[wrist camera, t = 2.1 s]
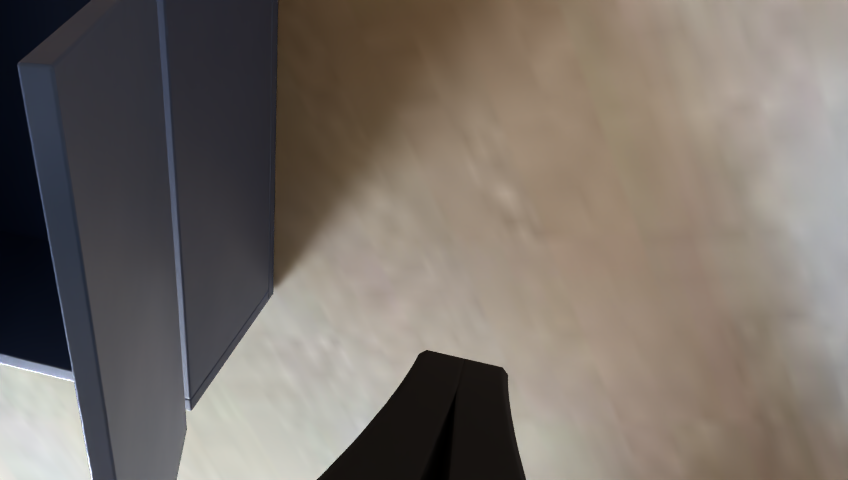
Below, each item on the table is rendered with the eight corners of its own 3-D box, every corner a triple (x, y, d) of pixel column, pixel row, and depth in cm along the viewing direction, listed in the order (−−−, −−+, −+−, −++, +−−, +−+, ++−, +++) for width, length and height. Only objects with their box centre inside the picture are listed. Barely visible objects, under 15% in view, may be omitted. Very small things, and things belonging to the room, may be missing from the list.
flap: (132, -37, 11) (155, -34, 11) (172, 429, 17) (187, 428, 17) (14, 62, 7) (52, 65, 7) (121, 650, 12) (142, 650, 12)
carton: (280, -74, 16) (138, -38, 11) (273, 293, 22) (176, 433, 17) (-123, -141, 18) (-423, -137, 12) (-33, 224, 23) (-214, 334, 18)
